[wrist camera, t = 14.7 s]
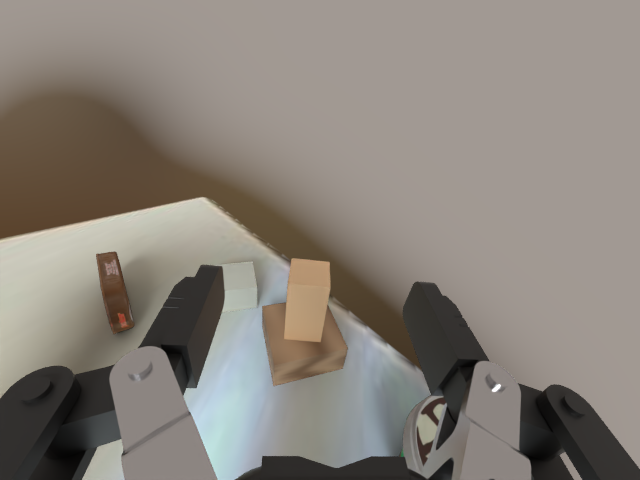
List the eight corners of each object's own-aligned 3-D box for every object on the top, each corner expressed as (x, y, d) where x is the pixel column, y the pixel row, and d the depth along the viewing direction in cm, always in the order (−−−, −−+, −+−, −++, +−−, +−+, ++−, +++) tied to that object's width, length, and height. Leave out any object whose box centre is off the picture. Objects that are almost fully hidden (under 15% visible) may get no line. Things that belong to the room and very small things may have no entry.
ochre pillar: (283, 339, 37) (287, 283, 31) (287, 311, 41) (291, 258, 36) (320, 342, 37) (330, 287, 32) (320, 314, 41) (329, 261, 36)
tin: (106, 284, 48) (89, 244, 43) (127, 278, 50) (113, 239, 45) (116, 347, 38) (96, 304, 34) (142, 337, 40) (126, 295, 35)
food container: (416, 408, 36) (443, 362, 30) (463, 449, 32) (502, 405, 27) (359, 493, 28) (381, 451, 22) (412, 560, 24) (454, 529, 19)
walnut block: (273, 387, 36) (274, 365, 33) (262, 328, 44) (262, 306, 41) (342, 369, 39) (347, 348, 37) (320, 317, 47) (323, 296, 45)
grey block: (214, 314, 45) (211, 292, 42) (214, 286, 50) (211, 265, 48) (257, 308, 47) (257, 286, 45) (253, 281, 53) (252, 261, 50)
